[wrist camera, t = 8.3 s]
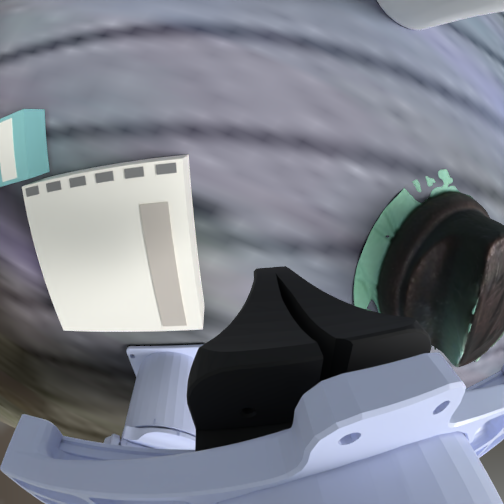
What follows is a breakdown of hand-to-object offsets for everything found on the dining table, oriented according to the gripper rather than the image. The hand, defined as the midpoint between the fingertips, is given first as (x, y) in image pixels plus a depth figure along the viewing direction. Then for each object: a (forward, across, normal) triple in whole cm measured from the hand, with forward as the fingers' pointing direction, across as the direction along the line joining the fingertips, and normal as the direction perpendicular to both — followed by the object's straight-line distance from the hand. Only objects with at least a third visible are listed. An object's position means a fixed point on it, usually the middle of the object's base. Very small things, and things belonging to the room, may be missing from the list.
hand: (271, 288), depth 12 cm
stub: (+10, +21, -8) cm, 25 cm away
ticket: (+10, +10, +1) cm, 14 cm away
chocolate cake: (+10, -19, +6) cm, 22 cm away
